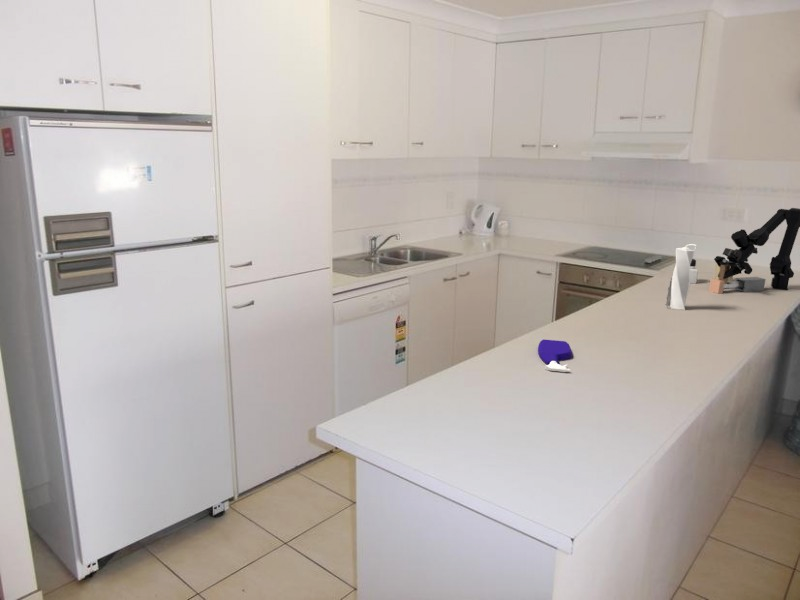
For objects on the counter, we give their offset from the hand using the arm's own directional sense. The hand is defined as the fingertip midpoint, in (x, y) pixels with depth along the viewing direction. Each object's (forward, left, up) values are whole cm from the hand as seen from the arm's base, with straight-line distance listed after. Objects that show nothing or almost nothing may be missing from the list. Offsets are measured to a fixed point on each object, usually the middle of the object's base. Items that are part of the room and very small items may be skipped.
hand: (720, 277), depth 296 cm
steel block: (-14, -12, -7) cm, 20 cm away
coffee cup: (-3, -28, -7) cm, 29 cm away
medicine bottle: (+14, -17, -7) cm, 23 cm away
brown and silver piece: (-5, -5, -6) cm, 9 cm away
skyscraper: (+17, +43, -8) cm, 47 cm away
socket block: (+1, +1, -7) cm, 7 cm away
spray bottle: (+51, +134, -8) cm, 144 cm away
